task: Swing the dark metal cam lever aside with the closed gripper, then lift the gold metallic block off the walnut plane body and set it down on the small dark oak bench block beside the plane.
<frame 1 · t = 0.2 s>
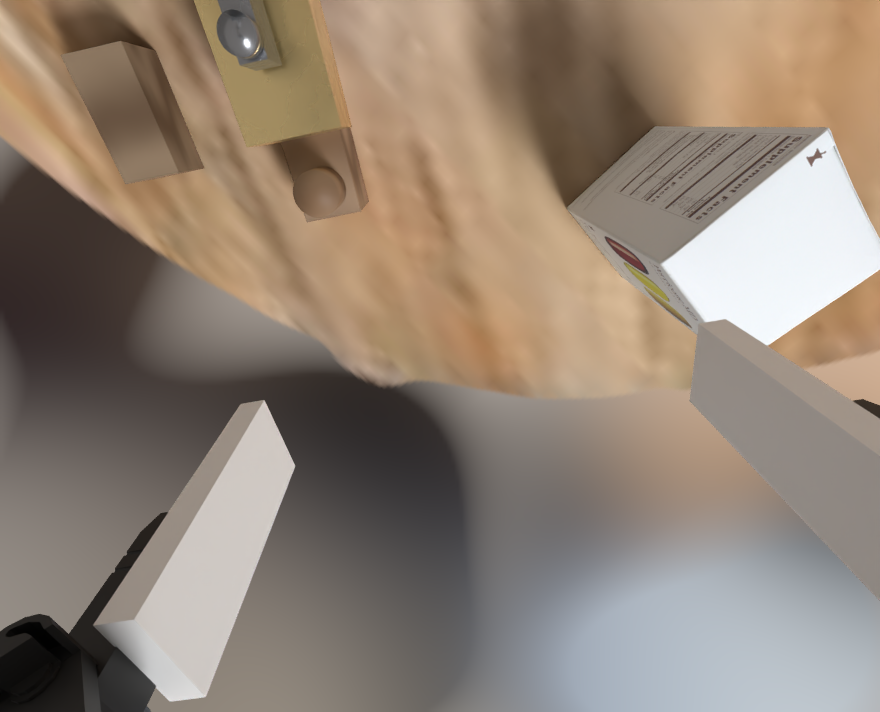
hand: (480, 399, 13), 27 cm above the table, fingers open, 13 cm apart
plane body: (301, 52, 31), on the table
gold metallic block: (289, 67, 28), point 5 cm above the table, touching plane body
supplement box: (637, 208, 37), on the table
bench block: (155, 118, 33), on the table
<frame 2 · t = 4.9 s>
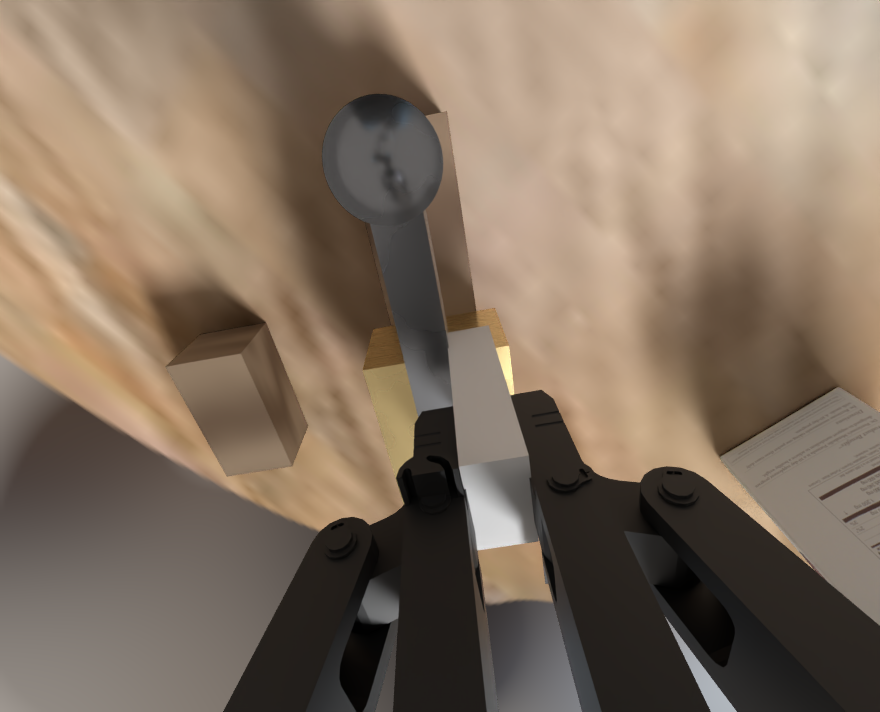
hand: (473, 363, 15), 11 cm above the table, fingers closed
plane body: (439, 323, 26), on the table
gold metallic block: (447, 386, 23), point 5 cm above the table, touching plane body
supplement box: (797, 454, 33), on the table
bench block: (257, 383, 28), on the table
lever: (423, 334, 14), point 11 cm above the table, hinge at 0.0°, touching gripper
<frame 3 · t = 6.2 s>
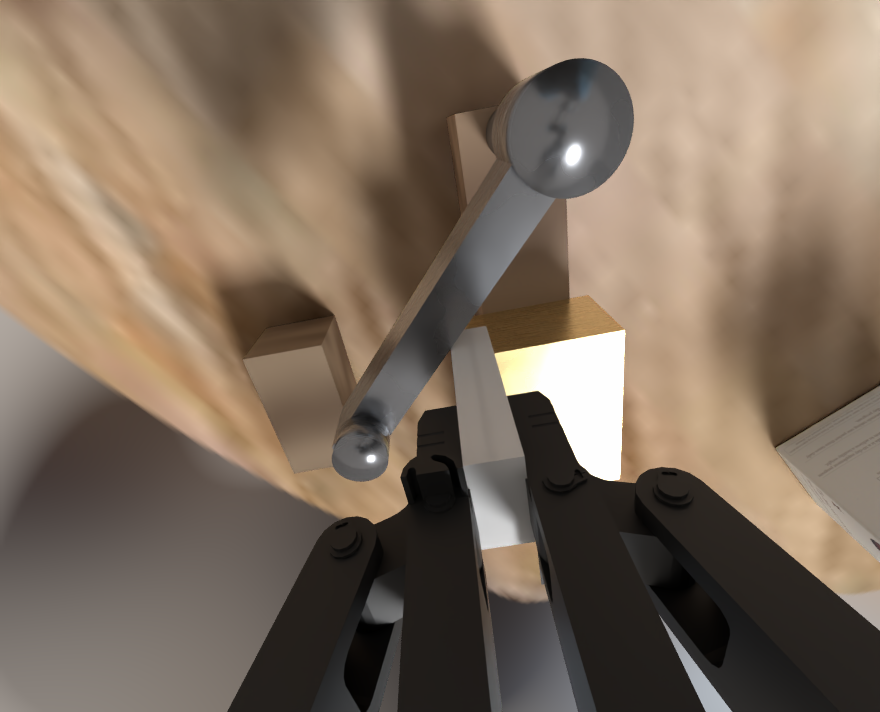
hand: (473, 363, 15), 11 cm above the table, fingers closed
plane body: (510, 314, 26), on the table
gold metallic block: (531, 377, 22), point 5 cm above the table, touching plane body
supplement box: (850, 444, 33), on the table
bench block: (320, 377, 27), on the table
lever: (451, 296, 13), point 11 cm above the table, hinge at 42.0°, touching gripper
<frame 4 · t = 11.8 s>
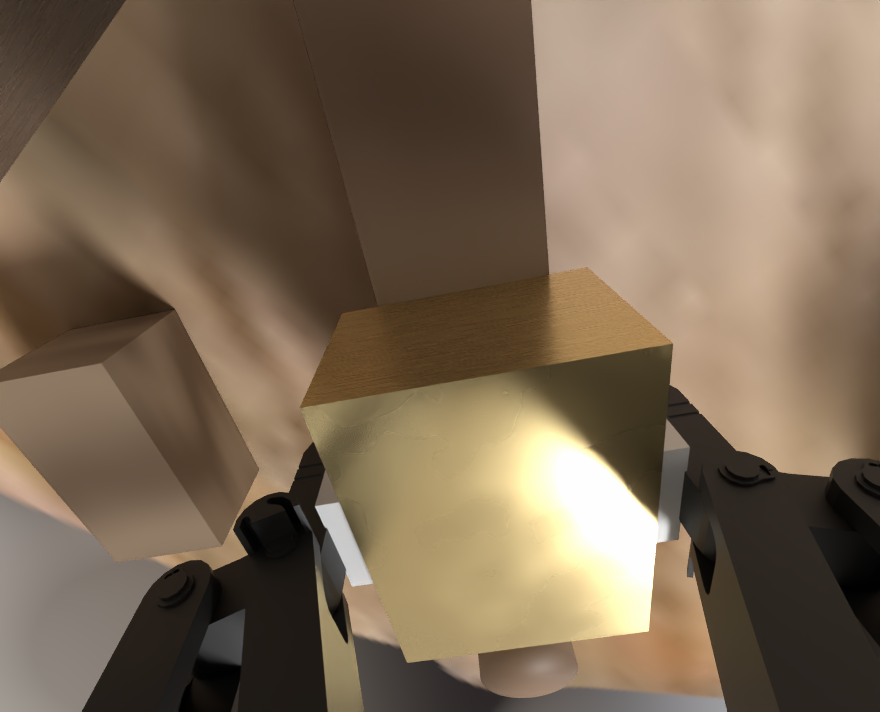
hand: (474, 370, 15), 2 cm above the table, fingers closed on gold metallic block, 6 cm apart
plane body: (463, 307, 16), on the table
gold metallic block: (484, 421, 12), point 5 cm above the table, touching gripper, plane body
bench block: (173, 406, 18), on the table
when the fingers open (2 cm above the table, at t = 17.1 s): gold metallic block drops 1 cm, resting on bench block.
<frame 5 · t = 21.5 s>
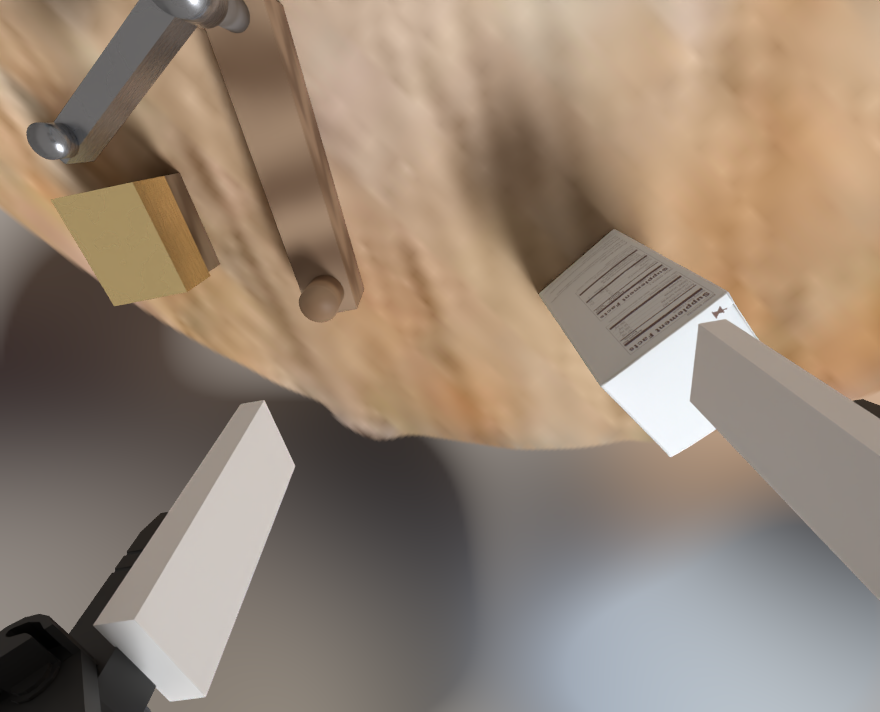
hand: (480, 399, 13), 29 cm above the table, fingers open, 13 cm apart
plane body: (305, 173, 36), on the table
gold metallic block: (153, 235, 34), point 4 cm above the table, touching bench block
supplement box: (601, 293, 42), on the table
bench block: (178, 225, 38), on the table
lever: (125, 64, 23), point 11 cm above the table, hinge at 61.0°
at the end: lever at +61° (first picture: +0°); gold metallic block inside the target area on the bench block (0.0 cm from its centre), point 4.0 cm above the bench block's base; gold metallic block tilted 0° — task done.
